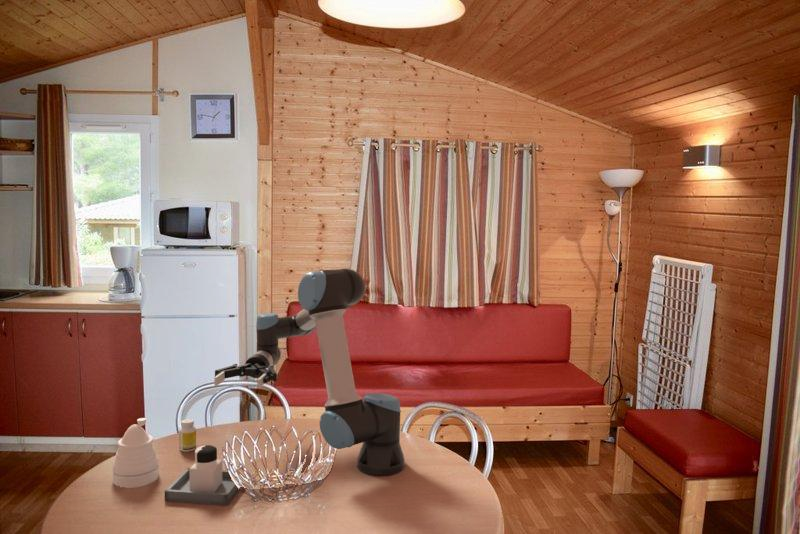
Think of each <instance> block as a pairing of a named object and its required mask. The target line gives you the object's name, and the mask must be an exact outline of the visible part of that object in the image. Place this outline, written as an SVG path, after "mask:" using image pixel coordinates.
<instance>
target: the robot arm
mask: <svg viewBox="0 0 800 534" xmlns="http://www.w3.org/2000/svg"><path fill="white" fill-rule="evenodd" d="M365 294H366V283H365V280H364V278H363V276H362V275H361V274H360V273H359V272H358V271H356V270H354V269H351V268H340V269H339V268H338V269H319V270H315V271H310V272H307V273H306V274H304V275H303V276H302V278H301V279H300V282H299V283H298V289H297V300H298V303H299V305H300V306H301V308H302V310H300V311H299V312H298V313H296V314H294V315H289V316H281V317H279V315H278V314H277V313H274V312H264V313H263V312H262V313H260V314H258V315H257V317H256V325H255V326H256V352H255V353H253V355H251V356H250V357H249V358H247V360H246V361H245V363H244V364H242V365H238V363H234V364H232V365H229V366H225V367H222V368H219V369H216V370H214V387H217V386H219V385H220V384H221V383H222V382H224V381H225V379H230V378H233V377H234V378H235V377H241V378H242V377H246V376H247V377H251V378H253V379H257V380H256V381H257V382H256V383H257V389H260V388H262V387H263V385H265V384H267V383H270V382H271V381H272V382H277V378H278V377H277V371H276V370H275V368H274V367H275V366H277V364H278V363H279V361H280V360H281V357H282V351H281V349H280V347H279V339H280V340H281V339H287V338H293V337H300V336H306V335H309V334H312V333H313V332H314V331H315V329H316V333H317V334H316V335H317V339H318V346H319V351H320V358H321V364H322V371H323V375H324V382H325V387H326V391H327V392H326V393H327V400H326V402H325V404H324V411H323V413H322V414H321V415H320V418H319V419H320V420H319V430H320V432H321V435H322V437H323V439H324V441H325V442H326V443H328V445H329V446H330V447H331V448H334V449H336V450H342V449H347V448H351V447H353V446H355V445H359V444H362V445H361V447H360V451H359V453H358V456H357V459H356V460H357V468H358V470H359V471H360V472H362V473H365V474H367V475H372V476H379V477H380V476H382V477H383V476H391V475H395V474H399V473H400V472H402V471H403V470H404V468H405V462H406V460H405V456H404V454H403V450H402V449H403V448H402V445H401V442H400V436H401V435H400V434H401V412H402V411H401V402H400V399H399V398H398V397H396V396H395V395H391V394H388V393H381V392H371V393H366V394H365V395H364V396H363V397H362V396H361V395H359V394H358V393H357V389H356V384H355V379H354V374H353V369H352V362H351V357H350V351H349V345H348V344H349V343H348V341H347V339H348V338H347V334H346V327H345V321H344V317H343V316H344V315H345V313H346V312H347V309H349V308H351V307H353V306H355V305H357V304H358V303H359V302H360V301H361V300H362V299H363V297H364V296H365Z"/></svg>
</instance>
